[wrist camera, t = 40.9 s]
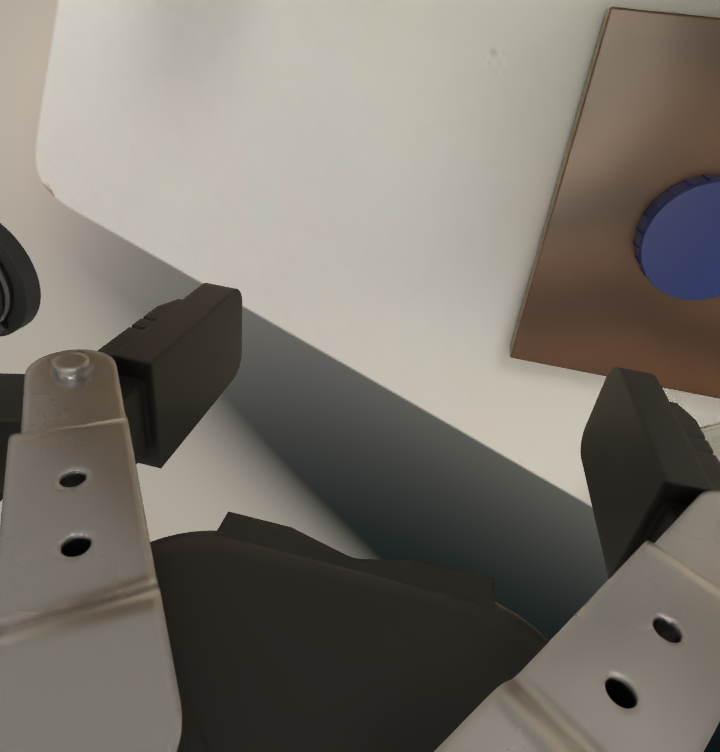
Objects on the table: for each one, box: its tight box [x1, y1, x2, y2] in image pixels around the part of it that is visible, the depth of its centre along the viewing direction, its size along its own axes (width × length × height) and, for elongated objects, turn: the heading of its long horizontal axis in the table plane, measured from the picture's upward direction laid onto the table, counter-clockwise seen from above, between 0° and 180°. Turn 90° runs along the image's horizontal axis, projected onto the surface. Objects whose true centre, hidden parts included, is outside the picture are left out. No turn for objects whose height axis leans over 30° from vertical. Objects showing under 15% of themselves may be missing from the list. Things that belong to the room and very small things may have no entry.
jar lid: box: [633, 174, 720, 300], centre depth 30 cm, size 7×7×2 cm
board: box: [510, 7, 720, 398], centre depth 31 cm, size 20×16×2 cm
